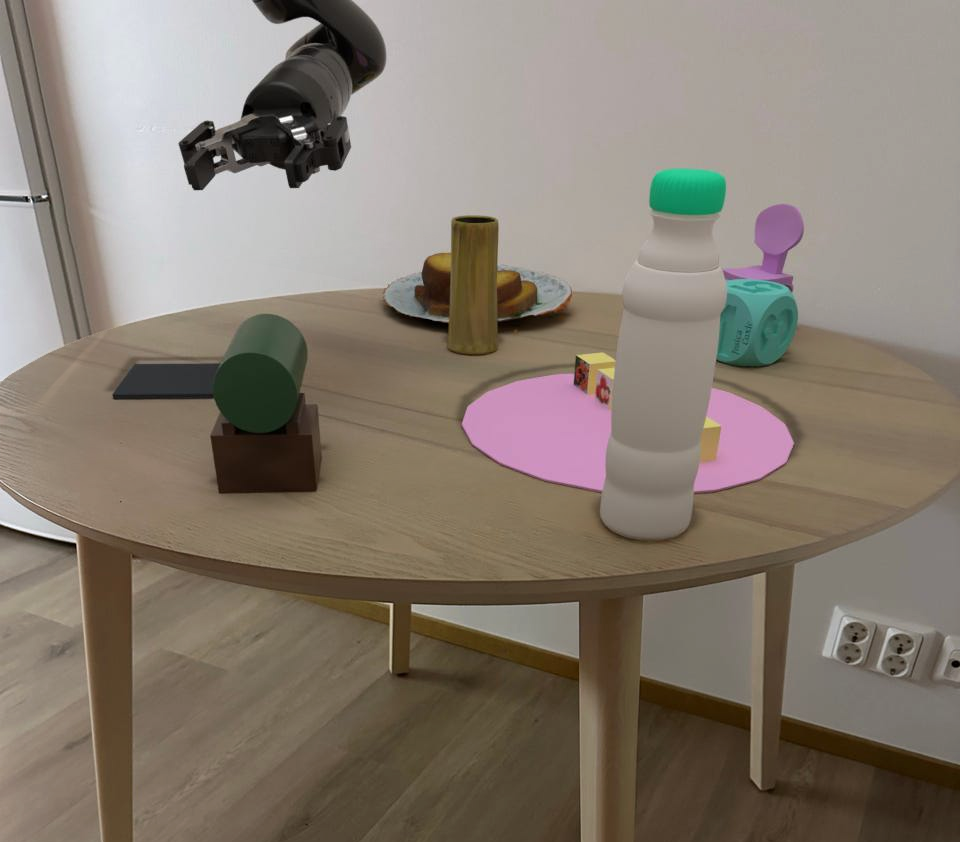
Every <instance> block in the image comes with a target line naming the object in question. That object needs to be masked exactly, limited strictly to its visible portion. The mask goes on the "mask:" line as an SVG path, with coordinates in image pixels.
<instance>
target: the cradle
mask: <svg viewBox="0 0 960 842" xmlns="http://www.w3.org/2000/svg"><path fill="white" fill-rule="evenodd" d="M319 418H320V417H319V407H318V404H317V403H306V394H305V392H300V393H299V397H298V401H297V405H296V409H295V411H294V414H293V415H292V417H291V418H290V420H289V421H288V422H287V423H286V424H285V425H283V426H282V427H280V428H278V429H276V430H274V431H271V432H267V433H253V432H248V431H245V430H242V429H240V428H238V427H236V426H234V425H233V424H231V423H230V422H229V421H228V420H227V419H226V418H225V417H224V416H223V415H222V414H221V412H220V411H219V413H218V416H217V419H216V421H215V423H214V426H213V428H212V430H211V433H210V436H209V437H210V443H211V451H212V457H213V464H214V471H215V477H216V484H217V489H218V493H219V494H226V493H227V494H234V493H235V494H237V493H238V494H239V493H241V494H242V493H295V492H296V493H298V492H303V493H304V492H317V491H318V486H319V478H320V473H321V465H322V459H323V456H322V455H323V454H322V443H321V432H320V431H321V430H320V419H319Z"/></svg>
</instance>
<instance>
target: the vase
mask: <svg viewBox="0 0 960 842" xmlns="http://www.w3.org/2000/svg"><path fill="white" fill-rule="evenodd" d="M450 223H451V224H450V226H451V227H450V228H451V229H450V233H451V234H450V253H451V283H450V311H449V323H448V338H447V342H446V346H447V348H448V350H449V351H451V352H453V353H456V354H461V355H467V356H468V355H469V356H480V355H488V354H492V353H494V352H495V351H497V350H498V349H499V338H498V337H499V336H498V322H497V265H498V259H499V258H498V257H499V256H498V255H499V229H500V228H499V220H498V219H497V218H496V217H494V216H488V215H478V214H477V215H471V214H469V215H458V216H455V217H452V218H451V221H450Z"/></svg>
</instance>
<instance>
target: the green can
mask: <svg viewBox="0 0 960 842" xmlns="http://www.w3.org/2000/svg"><path fill="white" fill-rule="evenodd" d="M308 353H309V352H308V345H307V342H306V340H305V337H304V336H303V334H302V332H301V331H300V329H299V328H298V327H297V326H296V325H295V324H294V323H293V322H291V321H290V320H288V319H287V318H285V317H283V316H280V315H277V314H274V313H259V314H256V315H253V316H251V317H248V318H247V319H246V320H244V321H243V322H242V323H241V324H240V325H239V327H238V328H237V329H236V331H235V333H234V335H233V337H232V338H231V341H230V344H229V345H228V347H227V350H226V351H225V353H224V355H223V358H222V360H221V362H220V363H221V364H220V366H219V368H218V370H217V372H216V374H215V377H214V381H213V395H214V397H213V400H214V402H215V406H216V407H217V409H218V411H219V413H220V412H221V414H222V415H223V416H224V417H225V418H226V419H227V420H228V421H229V422H230V423H231V424H233V425H234V426H236V427H238V428H240V429H242V430H245V431H248V432H253V433H267V432H271V431H274V430H276V429H278V428H280V427H282V426H283V425H285V424H286V423H287V422H288V421H289V420H290V418H291V417H292V415H293V414H294V411H295V409H296V405H297V401H298V397H299V393H301V389H302V388H301V387H302V384H303V379H304V377H305V371H306V367H307V362H308V358H309V357H308V356H309V354H308Z"/></svg>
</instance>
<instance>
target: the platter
mask: <svg viewBox="0 0 960 842" xmlns="http://www.w3.org/2000/svg"><path fill="white" fill-rule="evenodd" d="M615 361H616V359H614V358H613V357H611V356H609V355H608V354H606V353H605V352H602V351H601V352H594V353H585V354H584V353H582V354H576V355H575V361H574V362H575V363H574V372H573V373H557V374H555V373H554V374H549V375H544V376H538V377H533V378H526V379H521V380H515V381H514V382H510V383H508V384H506V385H503V386H500V387H497V388H493V389H491V390H489V391H486V392H485V393H484V394H482V395H481V396H480V397H478V398H477V399H475V400H474V401H473V402H472V403H470V404H468V405H467V407H466V410H465V413H464V416H463V419H462V423H461V427H462V429H463V431H464V433H465V434H466V437H467V438H468V440H469V442H470V444H471V446H473V448H475V449H476V450H479V451H480V452H481V453H483V454H484V455H486V456H487V457H488V458H490V459H491V460H492V461H494V462H495V463H497V464H499V465H500V466H503V467H506V468H509V469H511V470H514V471H516V472H519V473H522V474H524V475H527V476H530V477H533V478H535V479H537V480H540V481H544V482H548V483H553V484H558V485H564V486H567V487H573V488H578V489H583V490H588V491H593V492H599V493H602V490H603V485H604V481H605V478H606V467H605V461H606V450H607V444H608V440H609V436H610V434H611V408H612V392H613V381H614V370H615ZM700 444H701V455H700V463H699V468H698V473H697V476H696V479H695V482H694V494H700V493H701V494H702V493H715V492H719V491H723V490H727V489H730V488H735V487H738V486H742V485H746V484H749V483H754V482H757V481H760V480H762V479H763V478H765V477H767V476H769V475H770V474H772V473H773V472H775V471H777V470H778V469H780V468H781V467H784V466H785V465H786V464H787V462H788V460H789V458H790V454H791V453H792V450H793V448H794V446H793V445H795V442H794V439H793V438H792V436H791V433H790V432H789V429H788V427H787V425H786V424H785V423H784V422H783V421H782V420H780V419H779V418H778V417H776V416H775V415H774V414H773V413H772V412H769V410H768V409H766V408H765V407H763V406H762V405H759V404H757V403H755V402H752V401H750V400H747V399H745V398H743V397H741V396H739V395H736V394H734V393H732V392H729V391H725V390H721V389H718V388H715V387H712V389H711V395H710V400H709V405H708V410H707V415H706V420H705V424H704V428H703V431H702V435H701V438H700ZM776 469H777V470H776Z"/></svg>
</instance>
